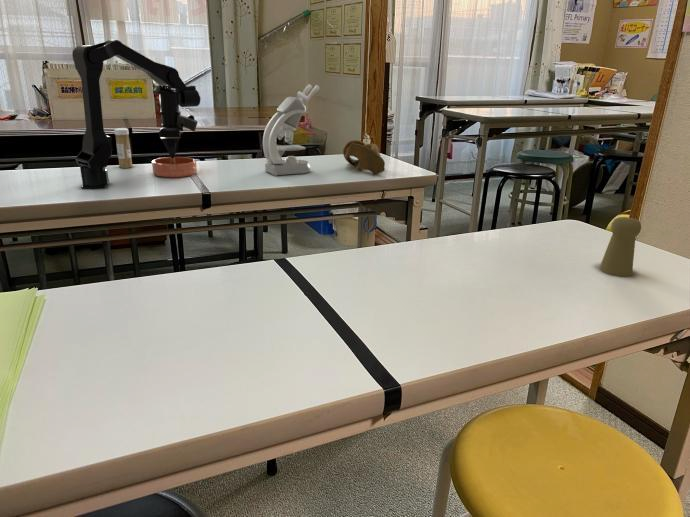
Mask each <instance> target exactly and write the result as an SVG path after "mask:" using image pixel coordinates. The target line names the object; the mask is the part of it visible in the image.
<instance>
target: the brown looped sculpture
mask: <svg viewBox="0 0 690 517" xmlns="http://www.w3.org/2000/svg"><path fill="white" fill-rule="evenodd" d="M342 154H343V155H342V156H343V157H344V159H345V161H346V162H347V163H348V164H349V165H350V166H352V167H353V168H356V170H357V171H359V172H362V171H363V170H365V171H369V172H370V173H372V174H373V175H379V174H381V173H383V172H385V164H386V163H385V160H384V158H383V157H382V156H381V153H380V152H379V147H378V145H377V144H376V143H373V142H371V143H365V142H363V141H362V140H359V139H353V140H350V141H348V142H347V143H346V144H345V145H344V147H343V149H342ZM352 157H354V158H356V159H354V158H352Z"/></svg>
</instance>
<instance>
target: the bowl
mask: <svg viewBox="0 0 690 517" xmlns="http://www.w3.org/2000/svg"><path fill="white" fill-rule="evenodd" d="M151 166H152V173H153V174H154V175H156V176H158V177H161V178H185V177H190V176H193V175H195V174H196V173H197V172H198V168H197V159H196V158H192V157H187V156H175V164H171V159H170V156H168V157H158V158H155V159H153V160H152V161H151Z"/></svg>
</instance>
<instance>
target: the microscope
mask: <svg viewBox="0 0 690 517" xmlns="http://www.w3.org/2000/svg"><path fill="white" fill-rule="evenodd" d="M320 89H321V87H320V86H319V85H318V84H315V86H314V87H313V85H311V84H310V83H309V84H307V85H306V86H305V88H304V89H303V90H302V92H301V91H300V90H299V91H298V92H297V93H296V97H294V96H287V97H286V98H285V99H284V100H283V101H282V102H281V104H280V105H279V106H278V107H277V108H276V111H277V112H275V114H273V116H272V117H271V118H270V120H269V121H268V123H267V124H266V127H265V128H264V132H263V134H262V135H263V136H262V150H263V155H264V158H265V159H266V161H265V162H264V170H265V172H266V173H269V174H271V175H273V176H274V177H277V176H283V175H296V174H302V175H305V174H307V173H309V172H311V165H310V164H309V161H308V160H305V159H298V158H297V157H296V156H295V155H288V156H286V158H285V159H282V157H283V155H284V153H285V152H286V151H287V152H293V151H301V150H306V147H305V146H302V145H300V144H293V143H294V132H296V130H297V128H298V126H299V123H300V121H301V118H302V116H303V113H306V112H307V107H306V105H305V103H304V101H305V102H306V103H308V102H310V99H312V97H313V96H314V95H315V94H317V92H319V90H320ZM309 92H310V93H309ZM308 93H309V94H308ZM306 94H308V95H306ZM283 138H284V142H285V143H288V145H287V144H285V145H281V144H277V141H278V140H279V141H280V140H282V139H283ZM277 139H278V140H277Z"/></svg>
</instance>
